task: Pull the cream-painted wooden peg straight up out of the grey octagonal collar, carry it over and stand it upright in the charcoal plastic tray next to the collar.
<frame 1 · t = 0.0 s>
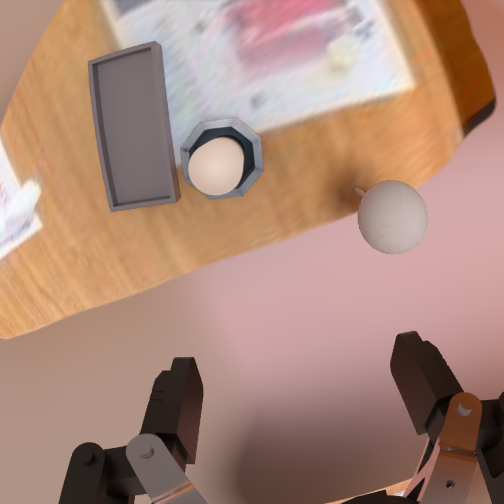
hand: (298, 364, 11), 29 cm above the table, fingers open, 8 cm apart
tray: (135, 126, 34), on the table
lollipop: (355, 188, 38), on the table
peg: (226, 152, 35), point 1 cm above the table, touching grey octagonal collar
grey octagonal collar: (226, 151, 36), on the table
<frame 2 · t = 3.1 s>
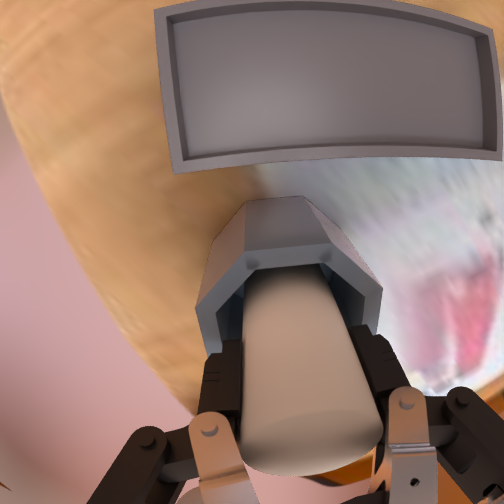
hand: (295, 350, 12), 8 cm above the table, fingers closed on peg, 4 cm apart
tray: (350, 76, 15), on the table
peg: (280, 267, 19), point 1 cm above the table, touching grey octagonal collar, gripper
grey octagonal collar: (279, 259, 20), on the table
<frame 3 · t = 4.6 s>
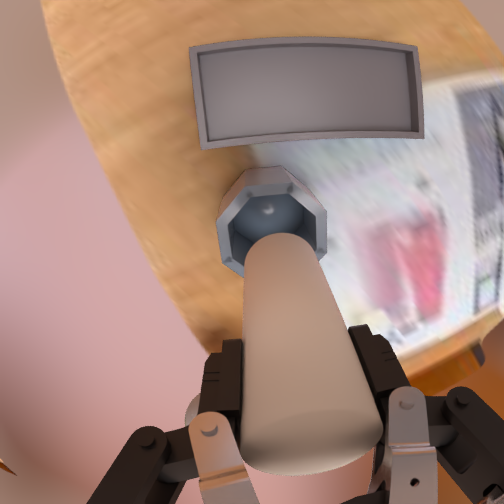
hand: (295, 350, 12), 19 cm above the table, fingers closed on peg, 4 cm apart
tray: (311, 88, 24), on the table
peg: (280, 266, 19), point 11 cm above the table, touching gripper
grey octagonal collar: (267, 209, 29), on the table
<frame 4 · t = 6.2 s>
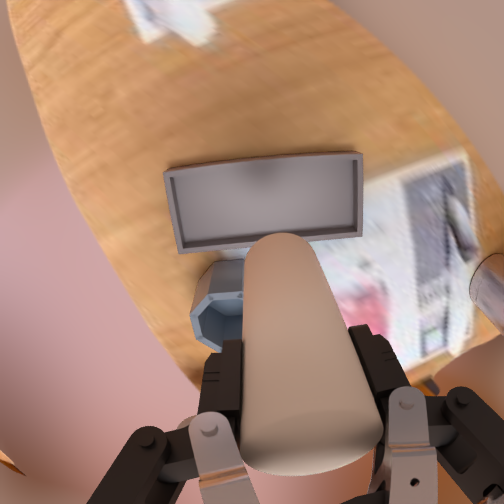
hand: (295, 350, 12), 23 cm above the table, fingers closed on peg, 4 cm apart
tray: (266, 197, 33), on the table
peg: (280, 266, 19), point 16 cm above the table, touching gripper
grey octagonal collar: (233, 289, 38), on the table
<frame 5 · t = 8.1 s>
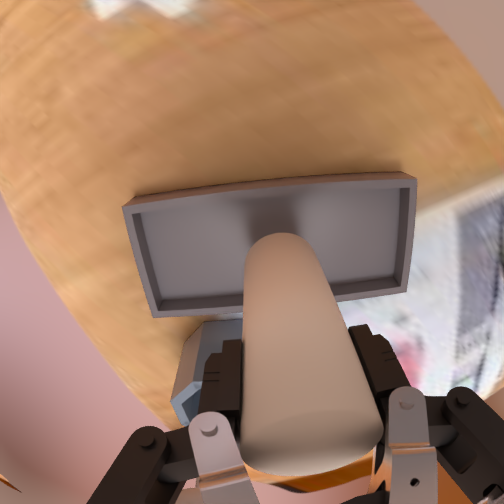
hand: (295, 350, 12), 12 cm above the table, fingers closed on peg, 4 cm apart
tray: (275, 238, 23), on the table
lollipop: (203, 438, 35), on the table
peg: (281, 266, 19), point 5 cm above the table, touching gripper
grey octagonal collar: (229, 353, 28), on the table
when the fingers open (9 cm above the table, at t = 9.5 s): peg stays where it is, resting on tray.
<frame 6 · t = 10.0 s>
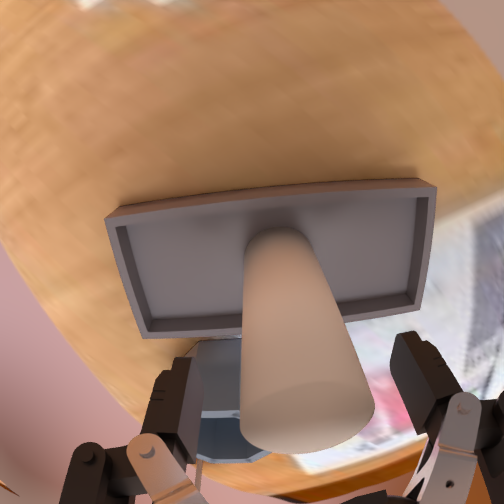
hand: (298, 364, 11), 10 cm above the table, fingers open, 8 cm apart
tray: (277, 253, 20), on the table
lollipop: (201, 454, 32), on the table
peg: (279, 259, 20), point 1 cm above the table, touching tray
grey octagonal collar: (227, 373, 25), on the table
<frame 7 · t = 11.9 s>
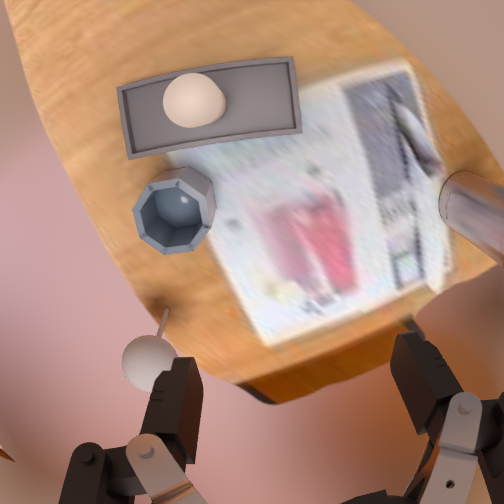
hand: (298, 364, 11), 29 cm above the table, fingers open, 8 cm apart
tray: (208, 105, 33), on the table
lollipop: (167, 309, 45), on the table
peg: (208, 105, 32), point 1 cm above the table, touching tray
grey octagonal collar: (182, 199, 38), on the table
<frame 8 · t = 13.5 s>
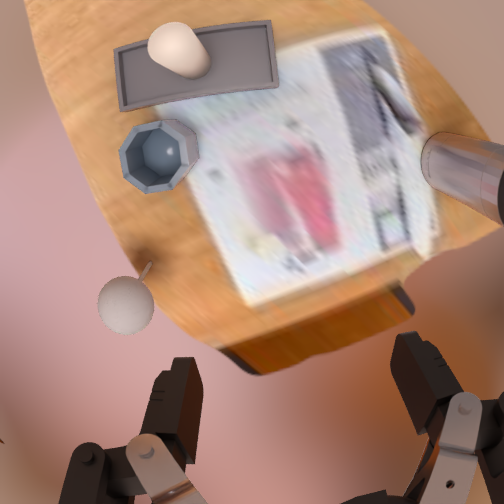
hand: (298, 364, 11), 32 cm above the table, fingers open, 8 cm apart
tray: (195, 65, 34), on the table
lollipop: (150, 262, 45), on the table
peg: (193, 63, 33), point 1 cm above the table, touching tray
grey octagonal collar: (168, 150, 38), on the table
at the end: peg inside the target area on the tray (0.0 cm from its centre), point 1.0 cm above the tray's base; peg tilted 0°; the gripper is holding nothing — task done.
